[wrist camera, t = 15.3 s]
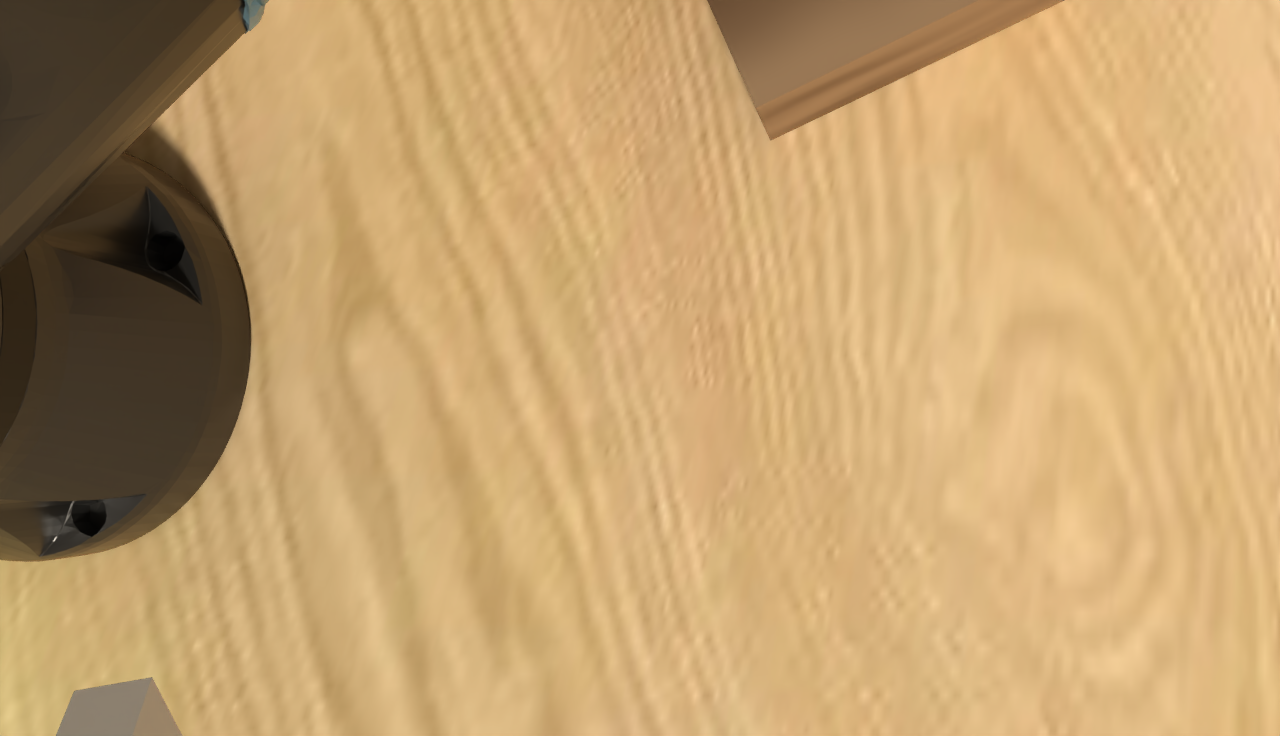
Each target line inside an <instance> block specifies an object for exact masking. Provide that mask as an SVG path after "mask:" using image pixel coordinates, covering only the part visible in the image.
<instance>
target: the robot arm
mask: <svg viewBox="0 0 1280 736" xmlns="http://www.w3.org/2000/svg"><path fill="white" fill-rule="evenodd" d="M268 1H269V0H0V560H8V561H24V562H29V561H46V560H55V559H61V558H68V557H75V556H82V555H88V554H93V553H98V552H103V551H106V550H109V549H113V548H116V547H119V546H121V545H124V544H126V543H129V542H131V541H133V540H135V539H137V538H139V537H141V536H143V535H145V534H146V533H148V532H150V531H151V530H153V529H155V528H156V527H157V526H159V525H160V524H162V523H163V522H165V521H166V520H167V519H168V518H170V517H171V516H172V515H173V514H175V513H176V512H177V511H178V510H179V509H180V508H181V507H182V506H183V505H184V504H185V503H186V502H187V501H188V500H189V499H190V498H191V497H192V496H193V495H194V494H195V493H196V491H197V490H198V489H199V488H200V487H201V485H202V484H203V483H204V481H205V480H206V479H207V477H208V476H209V474H210V473H211V471H212V470H213V469H214V467H215V465H216V464H217V462H218V460H219V459H220V457H221V455H222V453H223V451H224V449H225V447H226V445H227V443H228V441H229V439H230V437H231V434H232V432H233V429H234V427H235V425H236V422H237V419H238V416H239V412H240V409H241V406H242V402H243V398H244V394H245V389H246V383H247V378H248V369H249V359H250V327H249V316H248V309H247V303H246V297H245V293H244V289H243V284H242V281H241V278H240V274H239V271H238V268H237V266H236V263H235V260H234V258H233V255H232V253H231V251H230V249H229V247H228V245H227V243H226V241H225V239H224V237H223V235H222V234H221V232H220V230H219V228H218V227H217V225H216V224H215V222H214V221H213V220H212V218H211V217H210V215H209V214H208V213H207V211H206V210H205V209H204V208H203V206H202V205H201V204H200V203H199V202H198V201H197V200H196V199H195V198H194V197H193V195H192V194H191V193H189V192H188V191H187V190H186V189H185V188H184V187H183V186H182V185H181V184H179V183H178V182H177V181H175V180H174V179H173V178H172V177H170V176H169V175H167V174H166V173H164V172H163V171H161V170H159V169H158V168H156V167H154V166H152V165H150V164H148V163H147V162H144V161H142V160H140V159H137V158H135V157H132V156H130V155H127V154H124V153H123V152H124V151H125V150H126V149H127V148H128V147H129V146H130V145H131V144H132V143H133V142H134V141H135V140H136V139H137V138H138V137H139V136H140V135H141V134H142V133H143V132H144V131H145V130H146V129H147V128H148V127H149V126H150V125H151V124H152V123H153V122H154V121H155V120H156V119H157V118H158V117H159V116H160V115H161V114H162V113H163V112H164V111H165V110H166V109H168V108H169V107H170V106H171V105H172V104H173V103H174V102H175V101H176V100H177V99H178V98H179V97H180V96H181V95H182V94H183V93H184V92H185V91H186V90H187V89H188V88H189V87H190V86H191V85H192V84H193V83H194V82H195V81H196V80H197V79H198V78H199V77H200V76H201V75H202V74H203V73H204V72H205V71H206V70H207V69H208V68H209V67H210V66H211V65H212V64H213V63H214V62H215V61H216V60H217V59H218V58H219V57H220V56H221V55H222V54H224V53H225V52H226V51H227V50H228V49H229V48H230V47H231V46H232V45H233V44H234V43H235V42H236V41H237V40H238V39H239V38H240V37H241V36H242V35H243V34H244V33H245V34H246V33H247V32H248V31H251V30H252V29H253V28H254V27H255V26H256V25H257V24H258V23H259V22H260V20H261V18H262V16H263V14H264V7H265V4H266V3H267V2H268ZM56 736H182V734H181V732H180V731H179V729H178V727H177V725H176V723H175V721H174V719H173V717H172V715H171V713H170V711H169V709H168V707H167V705H166V703H165V701H164V699H163V698H162V696H161V694H160V692H159V690H158V688H157V686H156V684H155V682H154V680H153V678H152V677H151V678H145V679H140V680H134V681H128V682H122V683H117V684H111V685H105V686H99V687H94V688H88V689H82V690H76V691H74V693H73V695H72V698H71V700H70V702H69V705H68V707H67V710H66V712H65V715H64V717H63V720H62V722H61V724H60V727H59V729H58V732H57V734H56Z"/></svg>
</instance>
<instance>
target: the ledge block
mask: <svg viewBox="0 0 1280 736" xmlns="http://www.w3.org/2000/svg"><path fill="white" fill-rule="evenodd" d="M707 1H708V3H709V5H710V7H711V9H712V12H713V14H714V16H715V18H716V21H717V23H718V25H719V27H720V30H721V32H722V34H723V36H724V38H725V41H726V43H727V45H728V47H729V50H730V52H731V54H732V56H733V58H734V61H735V63H736V65H737V67H738V70H739V72H740V74H741V76H742V78H743V81H744V83H745V85H746V87H747V90H748V92H749V94H750V96H751V99H752V101H753V103H754V105H755V107H756V110H757V112H758V114H759V116H760V118H761V120H762V122H763V125H764V127H765V129H766V131H767V133H768V135H769V138H770V140H772V139H775V138H777V137H779V136H781V135H783V134H785V133H787V132H789V131H791V130H793V129H796V128H798V127H800V126H802V125H804V124H806V123H808V122H810V121H812V120H814V119H816V118H819V117H821V116H823V115H825V114H827V113H829V112H831V111H833V110H835V109H837V108H840V107H842V106H844V105H846V104H848V103H850V102H852V101H854V100H856V99H858V98H860V97H863V96H865V95H867V94H869V93H871V92H873V91H875V90H877V89H879V88H881V87H883V86H886V85H888V84H890V83H892V82H894V81H896V80H898V79H900V78H902V77H904V76H907V75H909V74H911V73H913V72H915V71H917V70H919V69H921V68H923V67H925V66H927V65H930V64H932V63H934V62H936V61H938V60H940V59H942V58H944V57H946V56H948V55H951V54H953V53H955V52H957V51H959V50H961V49H963V48H965V47H967V46H969V45H971V44H974V43H976V42H978V41H980V40H982V39H984V38H986V37H988V36H990V35H992V34H995V33H997V32H999V31H1001V30H1003V29H1005V28H1007V27H1009V26H1011V25H1013V24H1015V23H1018V22H1020V21H1022V20H1024V19H1026V18H1028V17H1030V16H1032V15H1034V14H1036V13H1039V12H1041V11H1043V10H1045V9H1047V8H1049V7H1051V6H1053V5H1055V4H1057V3H1059V2H1062V1H1064V0H707Z"/></svg>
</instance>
